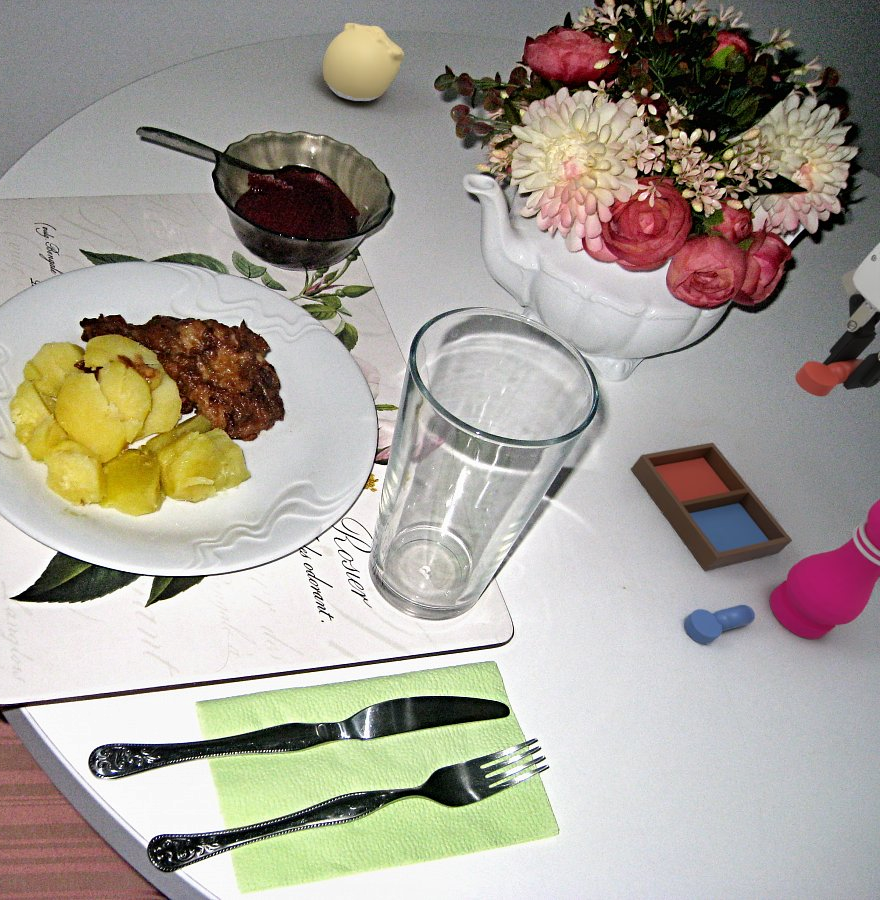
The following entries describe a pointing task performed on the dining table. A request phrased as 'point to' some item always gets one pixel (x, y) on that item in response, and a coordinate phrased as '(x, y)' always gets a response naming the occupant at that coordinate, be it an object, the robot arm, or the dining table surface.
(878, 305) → the robot arm
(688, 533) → the divided wooden tray
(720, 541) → the blue pad
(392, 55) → the sculpture
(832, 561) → the pink bowling pin
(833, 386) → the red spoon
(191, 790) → the dining table surface
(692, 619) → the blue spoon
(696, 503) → the red pad
